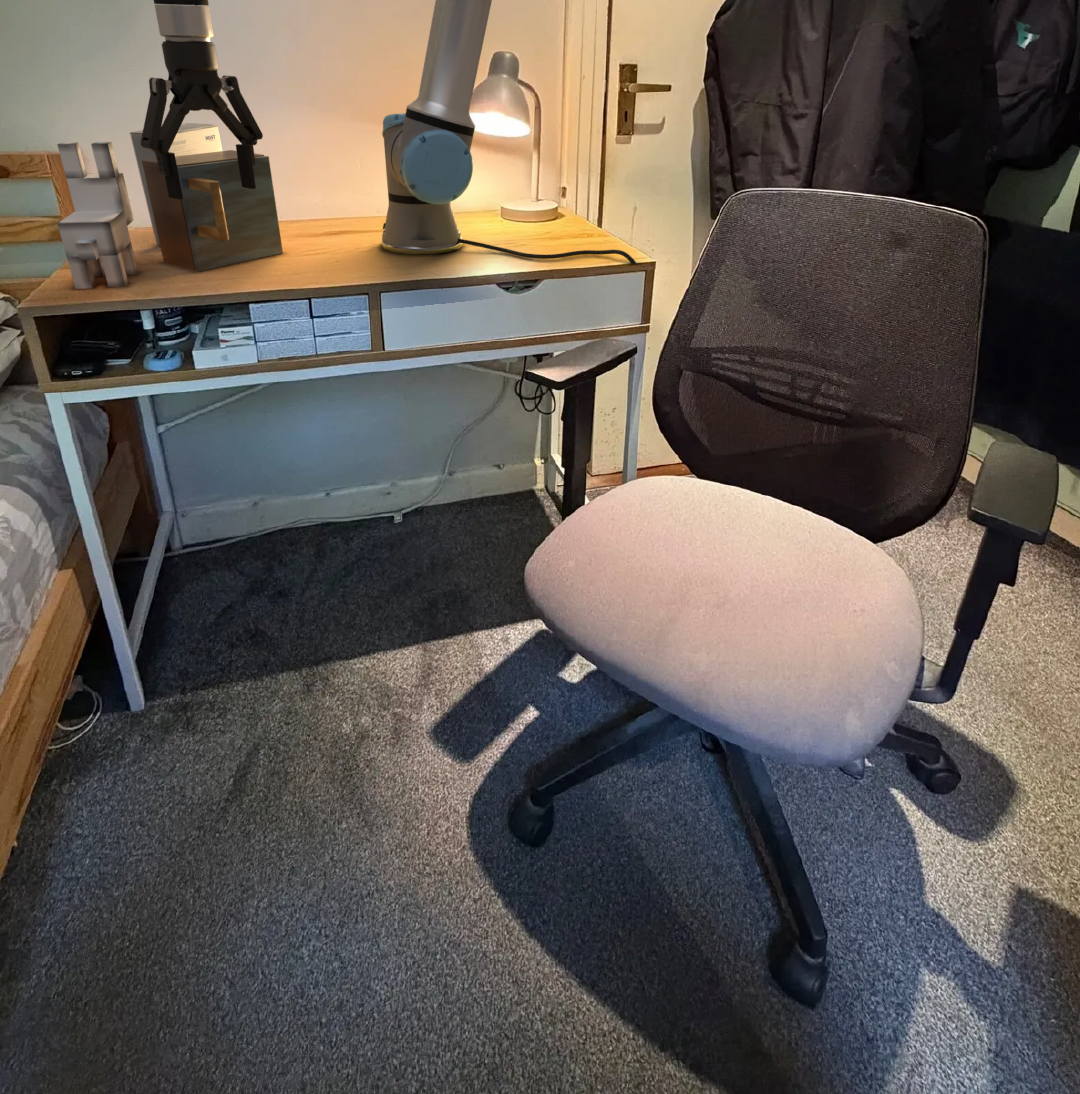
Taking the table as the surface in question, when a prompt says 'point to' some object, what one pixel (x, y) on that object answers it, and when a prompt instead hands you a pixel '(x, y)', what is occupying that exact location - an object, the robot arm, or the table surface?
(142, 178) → the hard drive box
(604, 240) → the table surface
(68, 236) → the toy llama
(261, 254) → the cupboard door
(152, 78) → the robot arm
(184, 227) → the cupboard
